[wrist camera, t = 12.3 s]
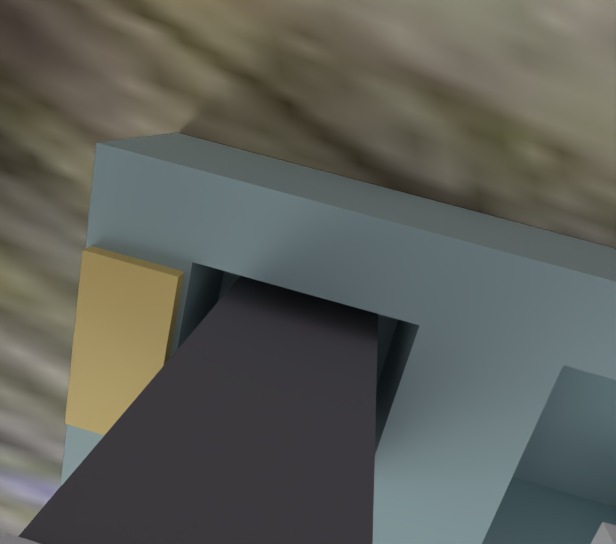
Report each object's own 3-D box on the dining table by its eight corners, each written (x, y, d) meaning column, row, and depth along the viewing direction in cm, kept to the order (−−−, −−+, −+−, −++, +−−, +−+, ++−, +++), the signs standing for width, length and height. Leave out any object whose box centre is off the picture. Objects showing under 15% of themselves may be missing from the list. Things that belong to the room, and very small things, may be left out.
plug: (346, 409, 17) (271, 1024, 6) (225, 374, 17) (-87, 898, 6) (382, 294, 16) (381, 795, 4) (250, 257, 16) (-90, 639, 5)
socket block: (661, 550, 19) (764, 714, 14) (137, 395, 20) (52, 494, 15) (812, 300, 16) (1020, 394, 11) (177, 132, 17) (87, 143, 12)
